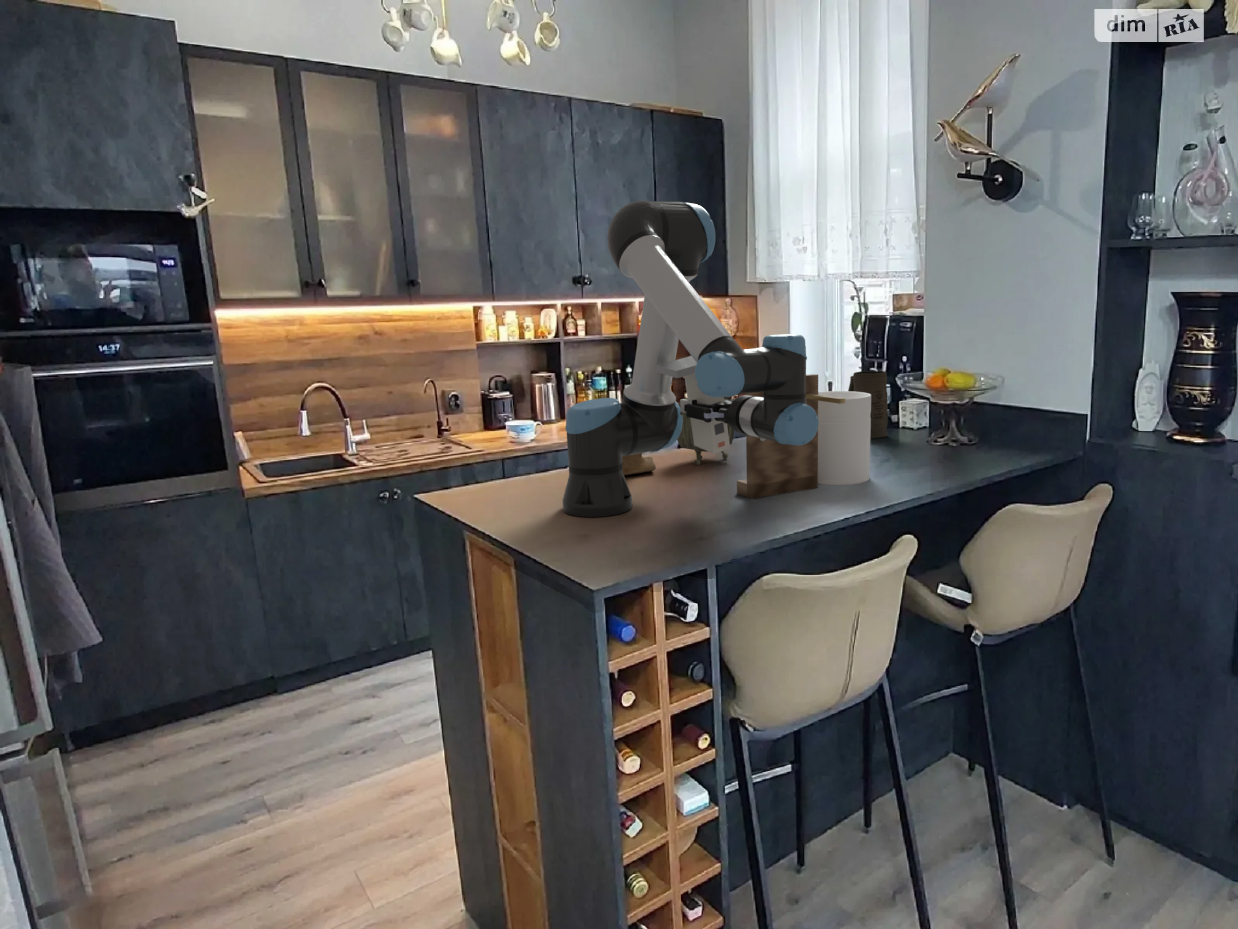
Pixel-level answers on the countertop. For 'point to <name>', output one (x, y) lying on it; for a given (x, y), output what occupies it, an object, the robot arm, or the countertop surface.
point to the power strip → (704, 433)
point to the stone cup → (637, 464)
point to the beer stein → (873, 398)
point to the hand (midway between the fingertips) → (692, 404)
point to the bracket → (783, 457)
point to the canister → (844, 438)
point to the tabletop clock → (687, 437)
